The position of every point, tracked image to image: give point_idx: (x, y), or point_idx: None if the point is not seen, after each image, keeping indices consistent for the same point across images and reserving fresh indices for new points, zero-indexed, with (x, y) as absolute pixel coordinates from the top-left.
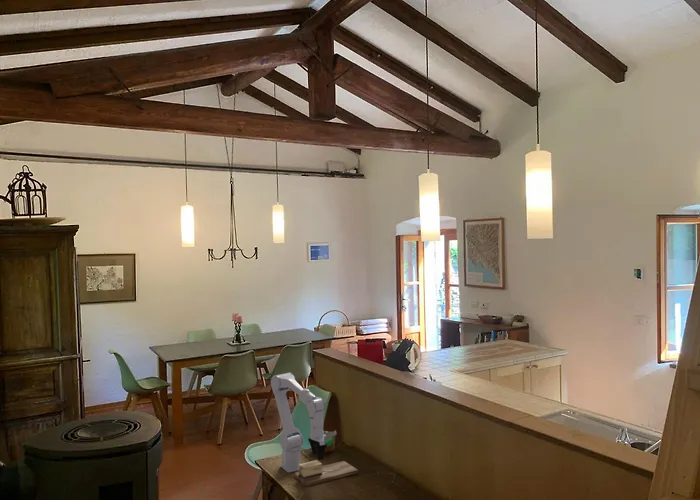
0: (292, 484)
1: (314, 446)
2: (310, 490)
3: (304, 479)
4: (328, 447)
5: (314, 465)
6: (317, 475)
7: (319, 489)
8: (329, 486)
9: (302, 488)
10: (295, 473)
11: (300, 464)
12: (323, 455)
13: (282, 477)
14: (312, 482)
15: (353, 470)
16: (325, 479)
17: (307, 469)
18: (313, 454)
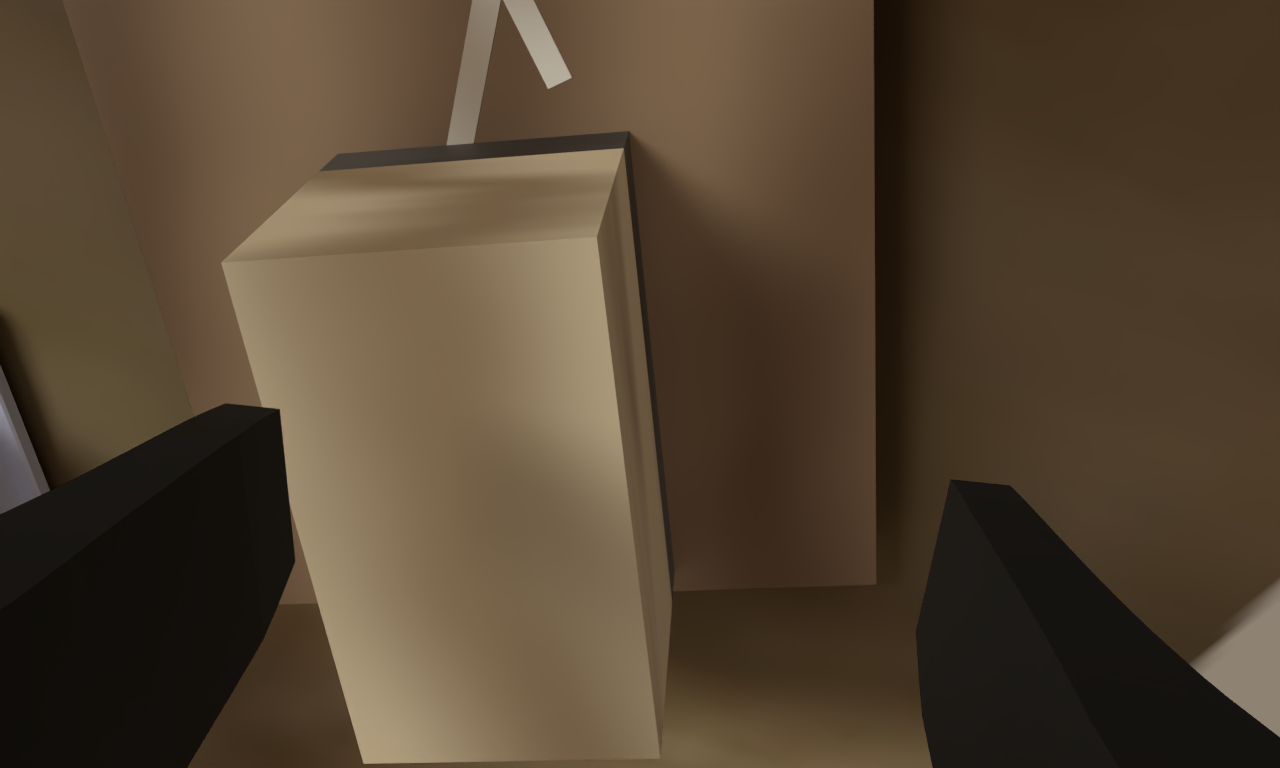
0: None
1: (108, 749)
2: (1089, 551)
3: (689, 564)
4: None
5: (623, 476)
6: (641, 263)
7: (1169, 393)
8: (1182, 139)
9: (909, 631)
10: (301, 599)
11: (392, 737)
12: (1093, 583)
13: (266, 731)
14: (871, 453)
15: None
16: (871, 124)
17: (652, 623)
18: (286, 564)
